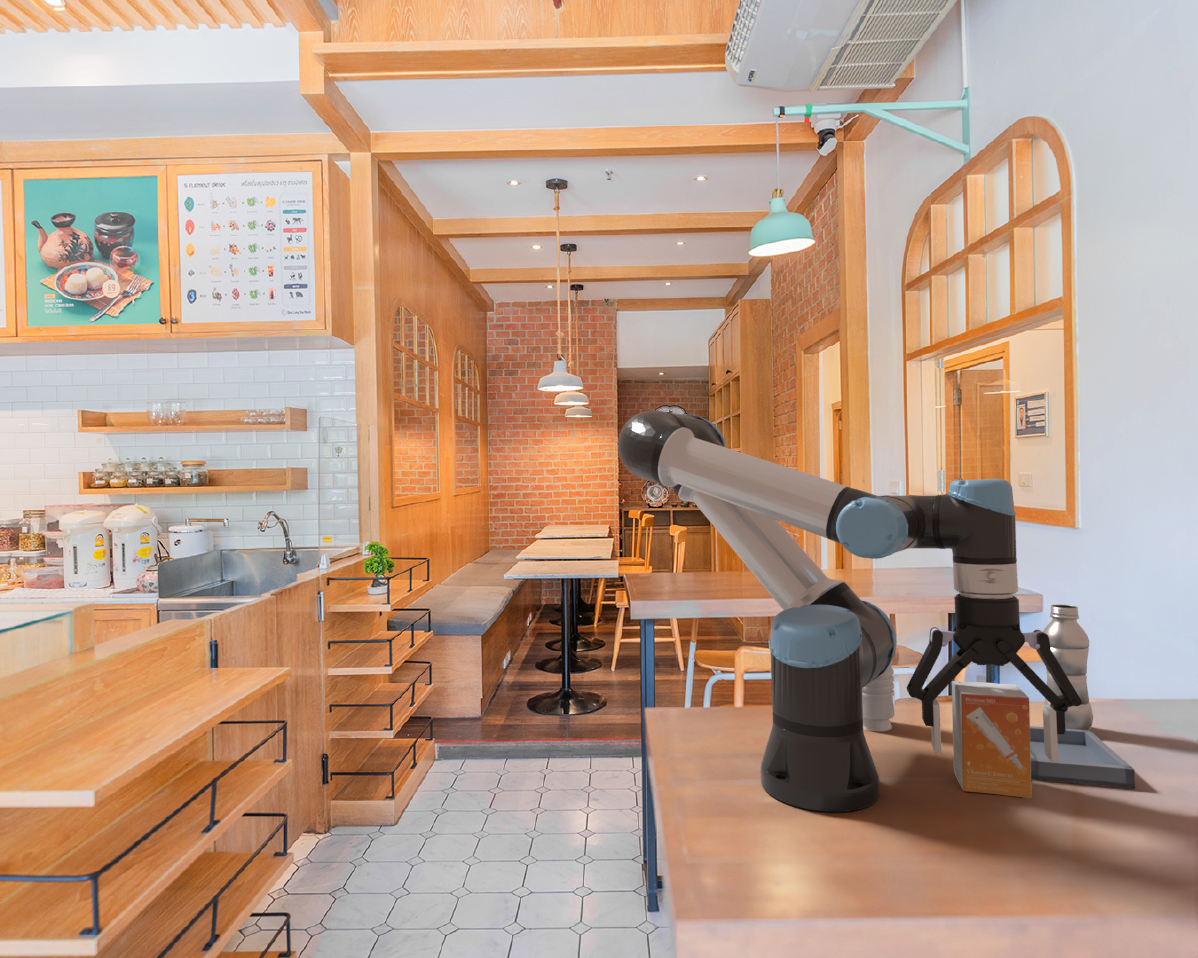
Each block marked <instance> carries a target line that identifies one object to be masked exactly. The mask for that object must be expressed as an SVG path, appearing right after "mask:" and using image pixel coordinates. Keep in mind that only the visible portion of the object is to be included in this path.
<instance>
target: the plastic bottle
mask: <svg viewBox="0 0 1198 958" xmlns="http://www.w3.org/2000/svg"><path fill="white" fill-rule="evenodd" d="M1049 617H1050V618H1051V621H1050V622H1049V623H1048V624H1047V625H1046V627H1044V629H1043V631H1042V632H1044V633H1045V634H1047V635H1048V637H1049V641H1050V647H1051V651H1052V653H1053V654H1054V656H1055V658H1056V659H1057V661H1058V663H1059V664H1060V666H1061V667H1062V669H1063V671H1064V672H1065V674H1066V676H1067V677H1068V679H1069V681H1070V682H1071V684H1072V686H1073V687H1074V689H1075V691H1076V692H1077V694H1078V696H1079V697H1080V699H1081V701H1082V703H1081V705H1080V706H1071V707H1068V710H1067V711H1066V712H1065V729H1078V730H1090V728H1091V727H1093V726H1092V725H1093V721H1094V720H1093V719H1094V713H1093V709H1092V706H1091V703H1090V697H1089V690H1088V683H1087V678H1088V677H1087V674H1088V673H1087V671H1088V657H1089V651H1090V639H1089V637H1088V635H1087V632H1086V631H1085V630H1084V629H1083V627H1082V626H1081V625H1080V624H1079V623H1078V621H1077V620H1078V619H1080V615H1079V607H1078V606H1076V605H1070V604H1051V605H1050V613H1049ZM1045 669H1046V685H1047V686H1048V687H1049V688H1050V689H1051V690H1052V691H1053V692H1054V693H1055V694H1056V695H1057V696H1059V695H1063V694H1062V692H1061V691H1060V689H1059V687H1058V686H1057V684H1056V683H1055V681H1054V679H1053V678H1052V676H1051V674H1050V673H1049V671H1048V669H1047V668H1046V667H1045ZM1044 698H1045V697H1044ZM1043 705H1050V702H1049V701H1048V700H1047V699H1046V698H1045V699H1044V704H1043Z"/></svg>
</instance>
